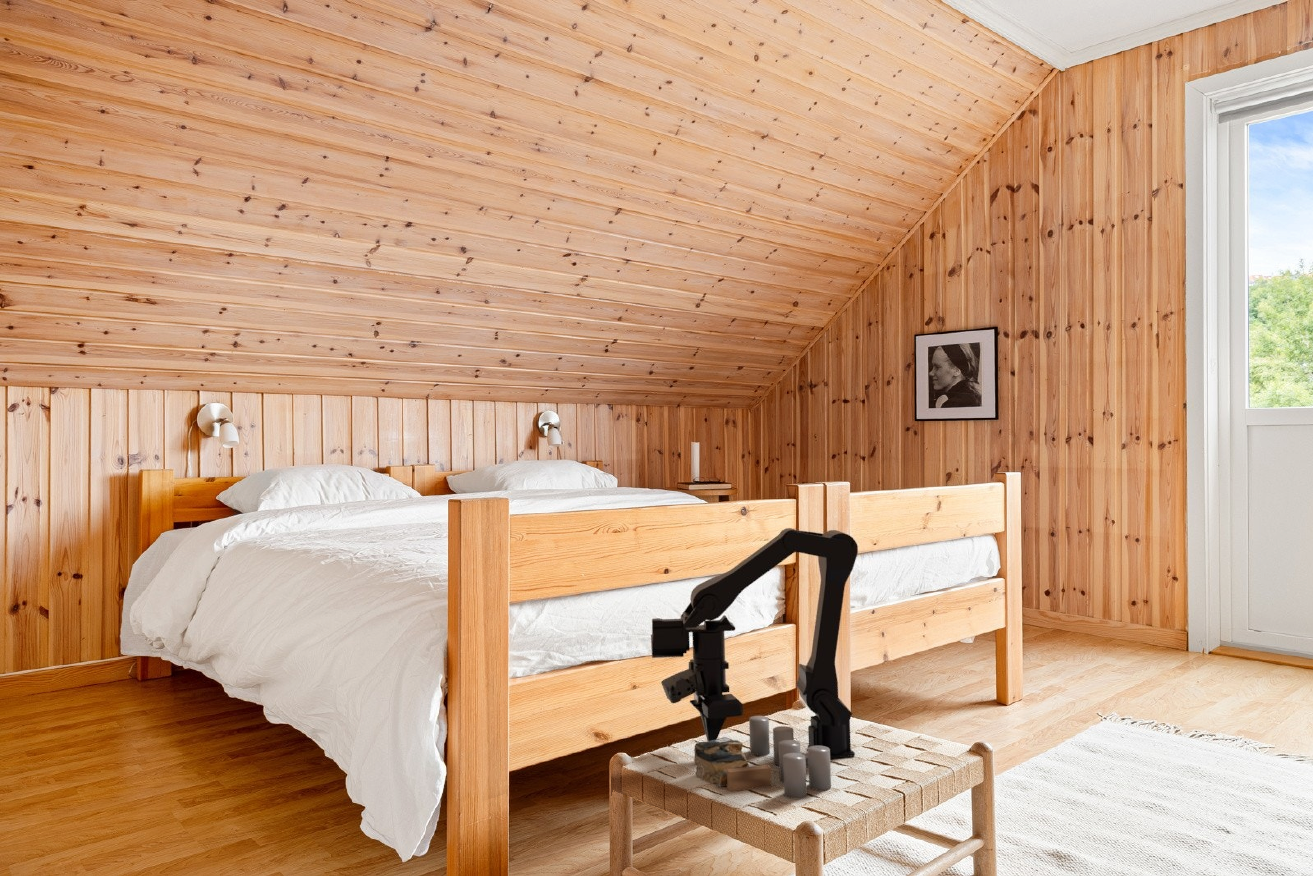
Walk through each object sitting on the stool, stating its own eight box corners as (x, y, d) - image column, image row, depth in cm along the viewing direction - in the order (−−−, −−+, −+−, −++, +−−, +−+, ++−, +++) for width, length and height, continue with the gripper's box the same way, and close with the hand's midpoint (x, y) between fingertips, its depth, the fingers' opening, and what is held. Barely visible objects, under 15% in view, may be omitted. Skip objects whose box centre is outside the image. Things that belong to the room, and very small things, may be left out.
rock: (722, 791, 144) (721, 756, 144) (688, 774, 152) (687, 740, 152) (762, 778, 149) (761, 744, 149) (727, 762, 157) (726, 730, 157)
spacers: (786, 745, 164) (785, 713, 164) (839, 793, 141) (838, 755, 141) (742, 750, 163) (741, 717, 163) (788, 800, 140) (787, 761, 140)
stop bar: (768, 783, 147) (767, 764, 147) (771, 786, 145) (770, 767, 145) (727, 787, 145) (726, 769, 145) (729, 791, 144) (729, 772, 144)
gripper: (652, 648, 166) (655, 732, 166) (678, 672, 148) (681, 766, 148) (710, 643, 169) (712, 726, 169) (742, 666, 151) (745, 759, 151)
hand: (711, 743), depth 159 cm, fingers closed
